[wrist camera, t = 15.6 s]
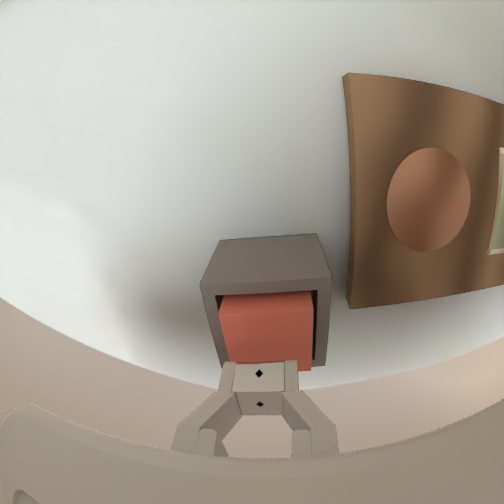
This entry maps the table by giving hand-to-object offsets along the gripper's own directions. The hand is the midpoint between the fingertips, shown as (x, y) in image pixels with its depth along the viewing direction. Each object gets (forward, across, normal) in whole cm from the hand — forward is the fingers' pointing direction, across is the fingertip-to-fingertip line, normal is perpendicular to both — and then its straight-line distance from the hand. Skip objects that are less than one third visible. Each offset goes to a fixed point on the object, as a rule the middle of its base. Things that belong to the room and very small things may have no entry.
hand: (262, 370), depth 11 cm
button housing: (+8, 0, 0) cm, 8 cm away
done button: (+3, 0, 0) cm, 3 cm away
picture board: (+7, -15, -5) cm, 18 cm away
